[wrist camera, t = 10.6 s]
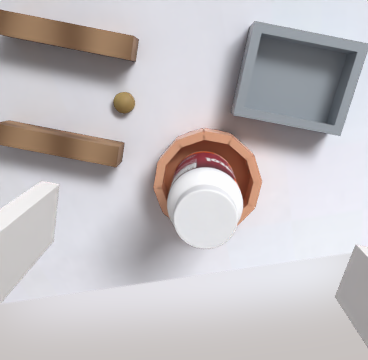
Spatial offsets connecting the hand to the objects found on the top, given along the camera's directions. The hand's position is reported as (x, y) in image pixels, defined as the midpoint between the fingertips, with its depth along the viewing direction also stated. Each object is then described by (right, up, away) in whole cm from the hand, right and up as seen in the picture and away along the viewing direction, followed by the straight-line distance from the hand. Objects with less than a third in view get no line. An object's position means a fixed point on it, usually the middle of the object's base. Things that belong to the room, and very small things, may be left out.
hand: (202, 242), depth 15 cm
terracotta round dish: (+2, +3, +20) cm, 21 cm away
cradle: (-12, +11, +19) cm, 25 cm away
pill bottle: (+1, +3, +20) cm, 20 cm away
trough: (+9, +12, +17) cm, 23 cm away
